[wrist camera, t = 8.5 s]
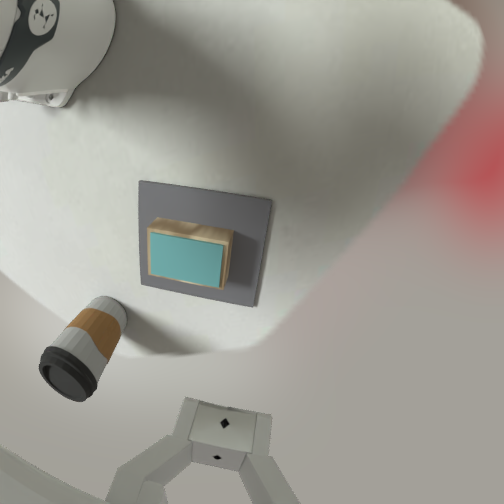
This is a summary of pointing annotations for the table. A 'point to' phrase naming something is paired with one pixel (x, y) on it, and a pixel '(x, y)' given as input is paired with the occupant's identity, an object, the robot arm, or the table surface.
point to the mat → (216, 215)
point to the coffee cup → (84, 349)
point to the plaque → (189, 252)
